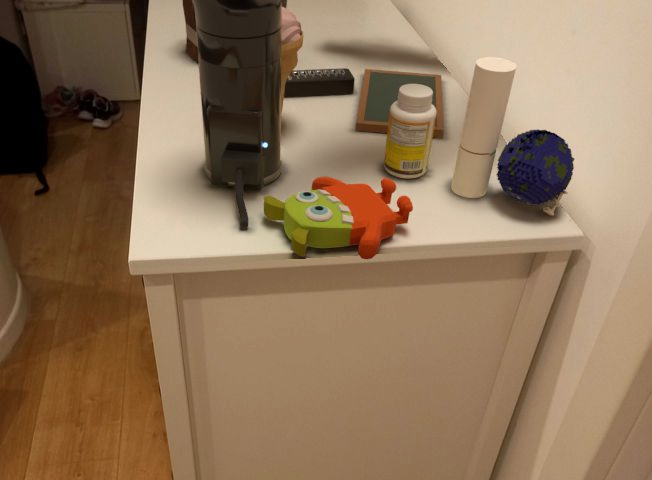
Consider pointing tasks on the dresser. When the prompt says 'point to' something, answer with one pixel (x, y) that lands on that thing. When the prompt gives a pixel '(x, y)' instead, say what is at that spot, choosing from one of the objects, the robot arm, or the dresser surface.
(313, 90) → the multiport hub
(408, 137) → the supplement bottle
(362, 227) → the toy
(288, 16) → the ice cream cone
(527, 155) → the globe
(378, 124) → the chalkboard
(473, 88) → the tube
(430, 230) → the dresser surface
